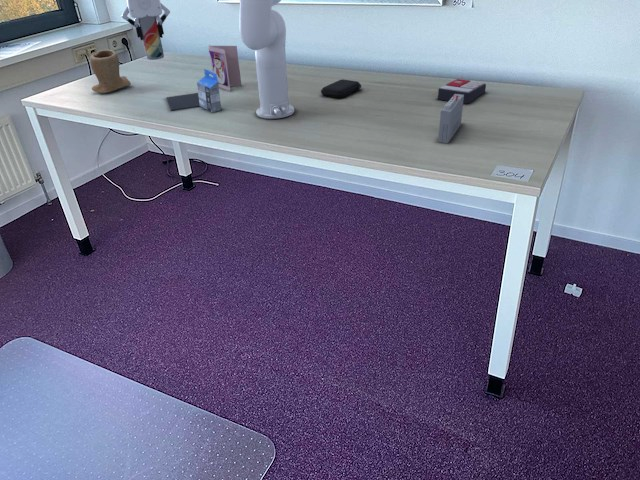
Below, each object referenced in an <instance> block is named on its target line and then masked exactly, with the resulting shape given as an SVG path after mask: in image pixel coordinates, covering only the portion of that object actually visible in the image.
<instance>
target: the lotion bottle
mask: <svg viewBox="0 0 640 480" xmlns="http://www.w3.org/2000/svg"><path fill="white" fill-rule="evenodd" d="M157 24H158V21H157V19H156V17H155V16H154V17H151V16H148V15H146V17H143V18H139V27H140V29H141V33H142V37H143V40H142V42H143V47H144V52H145V56H146V59H147V60H150V61H156V60H161V59H163V58H165V54H164V49H163V45H162V38H160V34H159V29H158V25H157Z"/></svg>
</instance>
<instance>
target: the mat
mask: <svg viewBox="0 0 640 480" xmlns="http://www.w3.org/2000/svg"><path fill="white" fill-rule="evenodd" d="M166 100H167V103H168V105H169V108H170V112H173V111H181V110H182V111H183V110H188V109H194V108H202V107H201V106H200V104H199V96H198V92H195V93H188V94H181V95H173V96H167V97H166Z"/></svg>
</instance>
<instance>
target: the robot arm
mask: <svg viewBox="0 0 640 480" xmlns="http://www.w3.org/2000/svg"><path fill="white" fill-rule="evenodd" d="M281 1H282V0H239V21H238V22H239V24H238V26H239V36H240V39H241V41H242V43H243V44H244V46H245V47H247V48H248V49H250V50H253V51H255V52H254V54H255V55H254V56H255V57H254V58H255V69H256V70H255V71H256V78H257V88H258V96H259V97H258V98H259V105H260V106H259V107H258V108H257V109H256V111H255V112H256V116H257V117H258V118H260V119H261V118H262V119H265V120H266V119H268V120H276V119H283V118H287V117H290V116H292V115H293V114H294V113H295V107H294V106H293V105H292V104H290V97H289V84H288V83H289V82H288V71H287V57H286V55H287V54H286V40H287V39H286V38H287V27H286V26H287V25H286V22H285V19H284V17H283V16H282V14H281V13H279V12H278V11H277V10H274V9H273V7H275V6H276V5H278V4H279V3H280V2H281ZM126 3H127V6H126V8H125V10H124V11H123V13H122V15H121V18H122V19H123V20H124V21H126V22H128V23H129V24H130V25H131V26H133V27H134V28H135V32H136V36H137V38H139V39H140V41H143V37H142V33H141V29H140V26H139V18H143V17H146V15H148V16H151V17H154V16H155V17H156V20H157V25H158V29H159V34H160V39H162V38H164V37H163V35H165V32H164V26H163V24H164V22H165V20H166V19H167V18H168V16H169V15H170V14H171V11H170V9H169V8H168V7H166V6H165V5H164V4H163V3H162V2H161V0H126ZM129 16H130V17H129Z"/></svg>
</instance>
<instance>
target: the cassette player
mask: <svg viewBox="0 0 640 480" xmlns="http://www.w3.org/2000/svg"><path fill="white" fill-rule="evenodd" d="M463 100H464V95H461V94H454V95H453V97H452V98H451V99H450V100H449V101H447V102H446V103H445V105H444V106H443V107H442V109H441V110H440V116H439V130H438V138H437V139H438V143H444V144H449V143H450V141H451V139H452V138H453V137H454V135H455V134H456V132H457V131H458V130H459V128H460V126H461V125H462V120H463V119H462V117H463V110H464V109H463V108H464V103H463Z"/></svg>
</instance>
